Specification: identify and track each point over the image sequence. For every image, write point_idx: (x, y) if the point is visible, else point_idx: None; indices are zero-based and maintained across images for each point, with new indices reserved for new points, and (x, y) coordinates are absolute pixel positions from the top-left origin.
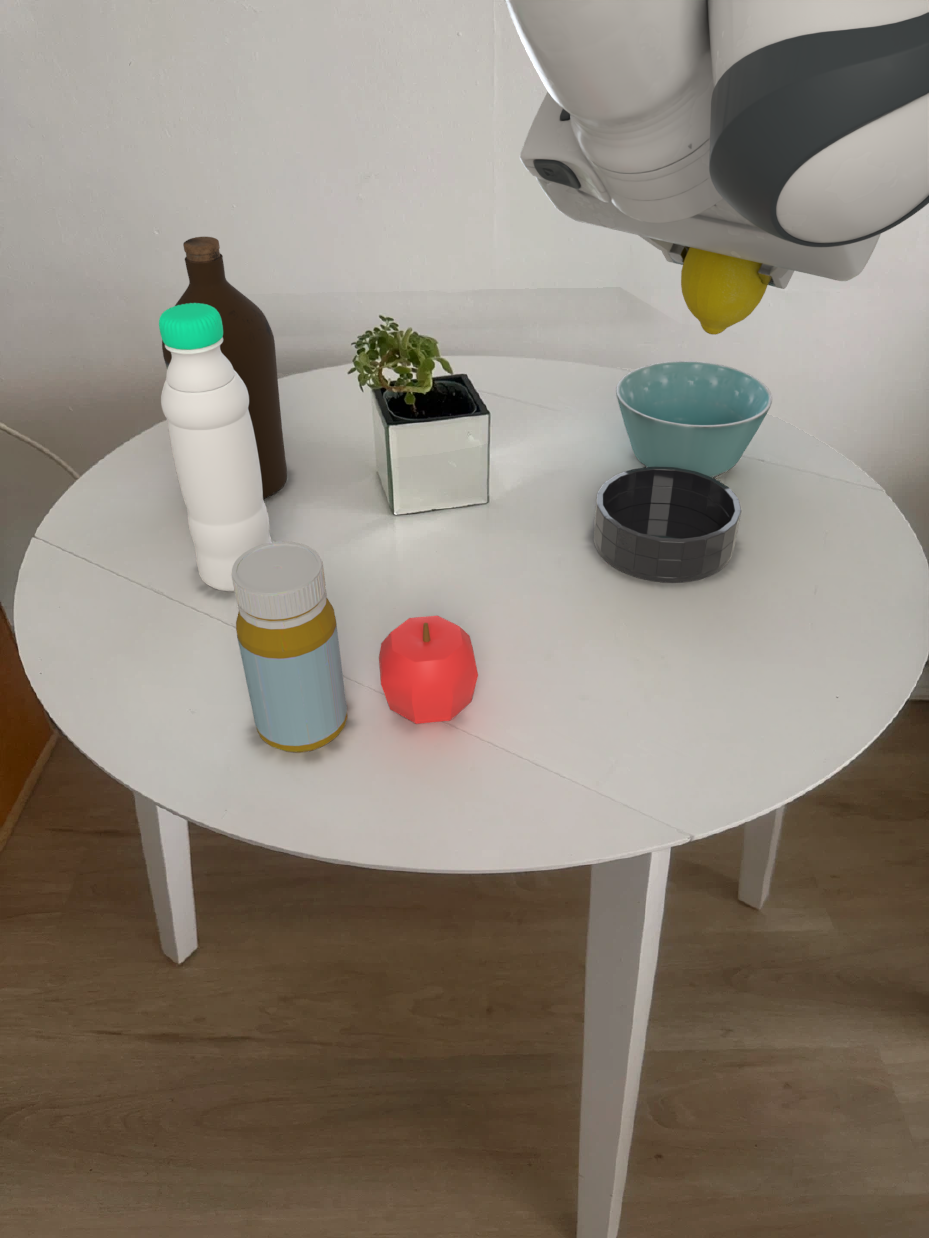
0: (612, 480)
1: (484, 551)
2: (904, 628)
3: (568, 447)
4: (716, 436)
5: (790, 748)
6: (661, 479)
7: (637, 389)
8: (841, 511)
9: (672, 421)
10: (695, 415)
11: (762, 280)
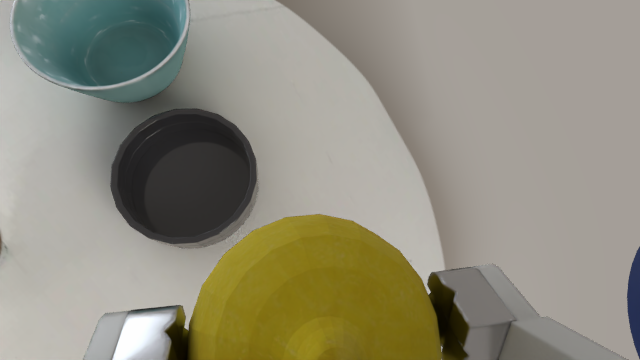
0: (115, 177)
1: (60, 319)
2: (400, 155)
3: (16, 110)
4: (169, 66)
5: None
6: (149, 131)
7: (35, 25)
8: (285, 49)
9: (89, 23)
10: (105, 6)
11: (440, 344)
